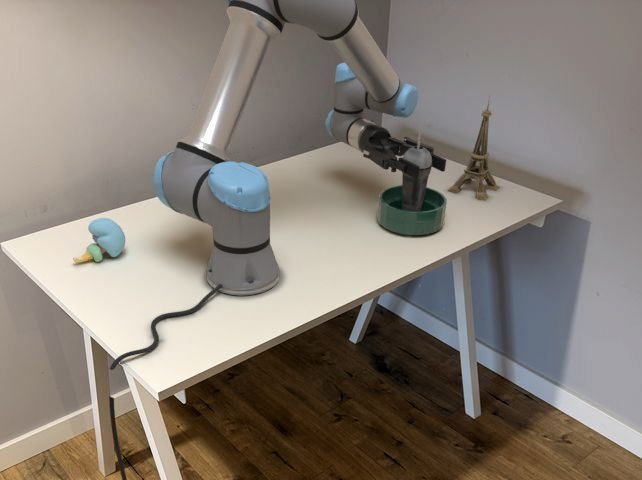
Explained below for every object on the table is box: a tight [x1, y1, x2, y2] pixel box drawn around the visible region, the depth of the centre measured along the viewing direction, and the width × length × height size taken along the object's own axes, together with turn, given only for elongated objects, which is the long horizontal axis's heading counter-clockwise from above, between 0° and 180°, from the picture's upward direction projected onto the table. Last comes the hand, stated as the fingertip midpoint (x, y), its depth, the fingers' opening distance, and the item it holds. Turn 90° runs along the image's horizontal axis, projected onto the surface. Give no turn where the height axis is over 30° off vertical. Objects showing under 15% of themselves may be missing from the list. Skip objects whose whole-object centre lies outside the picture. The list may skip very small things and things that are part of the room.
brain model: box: [72, 217, 126, 264], centre depth 147 cm, size 7×9×12 cm
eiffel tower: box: [447, 95, 500, 201], centre depth 176 cm, size 11×11×25 cm
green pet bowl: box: [376, 184, 447, 236], centre depth 164 cm, size 16×16×6 cm
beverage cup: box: [401, 128, 433, 212], centre depth 158 cm, size 7×7×20 cm
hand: (431, 169), depth 153 cm, fingers closed on beverage cup, 7 cm apart
